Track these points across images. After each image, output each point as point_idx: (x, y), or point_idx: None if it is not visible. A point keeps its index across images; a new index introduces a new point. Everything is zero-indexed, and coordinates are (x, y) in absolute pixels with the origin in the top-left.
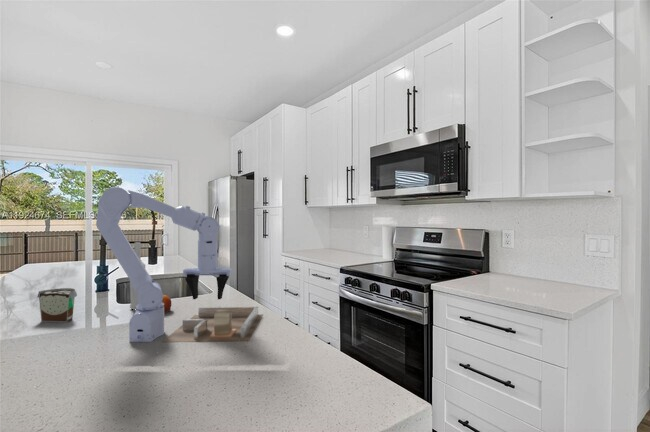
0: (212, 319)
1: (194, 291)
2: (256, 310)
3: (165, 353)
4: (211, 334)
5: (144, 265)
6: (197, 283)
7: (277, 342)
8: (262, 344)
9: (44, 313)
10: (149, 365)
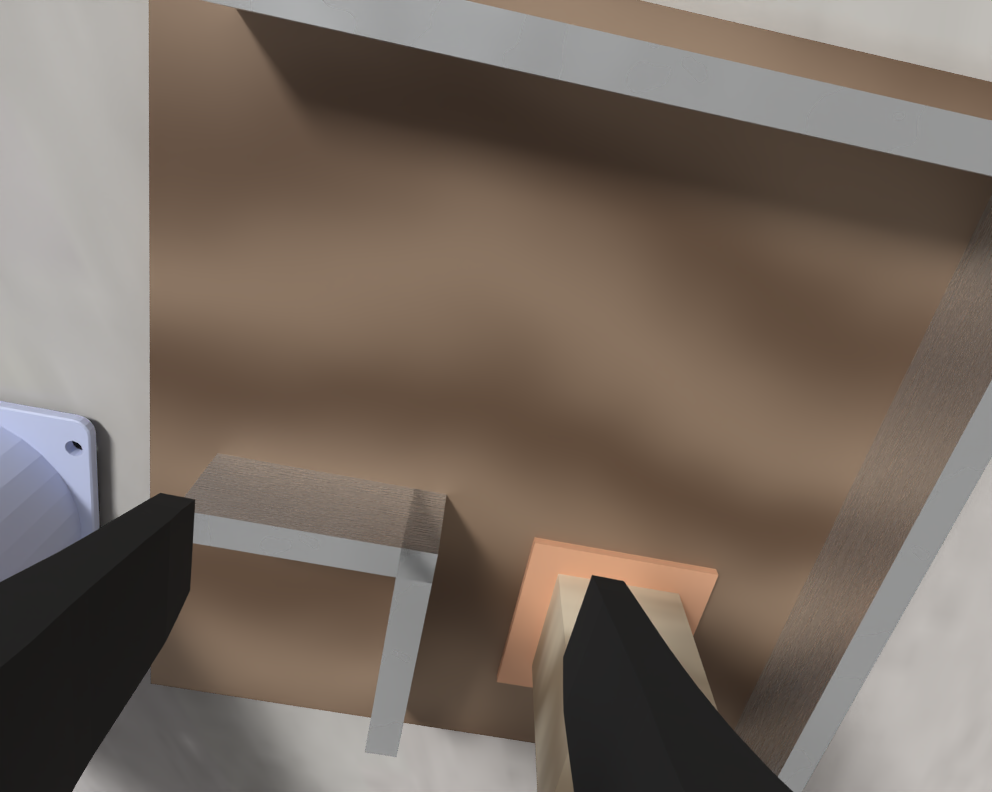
0: (455, 193)
1: (114, 712)
2: None
3: (248, 765)
4: (507, 651)
5: None
6: (19, 687)
7: (971, 757)
8: (863, 765)
9: None
10: None
